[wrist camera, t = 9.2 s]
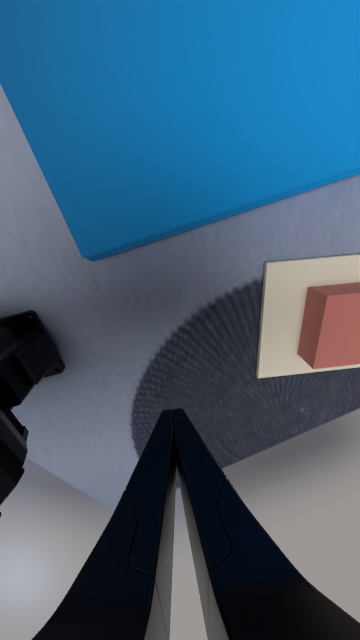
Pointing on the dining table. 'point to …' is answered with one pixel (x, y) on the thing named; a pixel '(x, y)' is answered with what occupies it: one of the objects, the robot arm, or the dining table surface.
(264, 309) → the mat
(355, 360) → the card box
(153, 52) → the book
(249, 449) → the dining table surface
